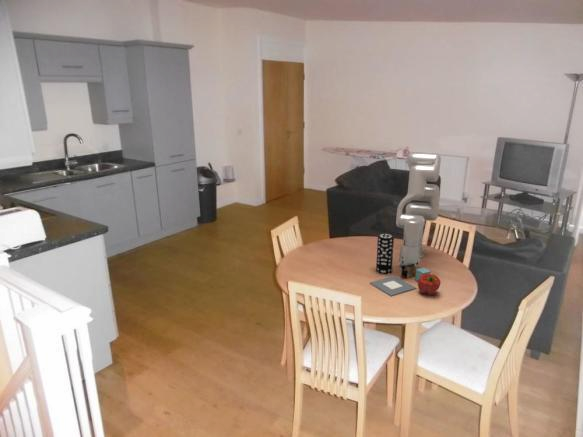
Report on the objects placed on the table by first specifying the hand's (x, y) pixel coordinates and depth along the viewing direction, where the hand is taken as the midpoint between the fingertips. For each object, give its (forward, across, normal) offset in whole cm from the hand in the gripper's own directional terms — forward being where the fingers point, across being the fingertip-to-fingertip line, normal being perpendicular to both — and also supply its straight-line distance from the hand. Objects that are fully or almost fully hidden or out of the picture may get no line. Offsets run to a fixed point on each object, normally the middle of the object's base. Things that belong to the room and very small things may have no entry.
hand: (408, 275), depth 221 cm
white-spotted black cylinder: (+1, +7, -11) cm, 13 cm away
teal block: (+1, -2, +8) cm, 8 cm away
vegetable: (+1, +5, +19) cm, 20 cm away
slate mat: (0, +15, +5) cm, 16 cm away
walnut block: (+1, 0, 0) cm, 1 cm away
